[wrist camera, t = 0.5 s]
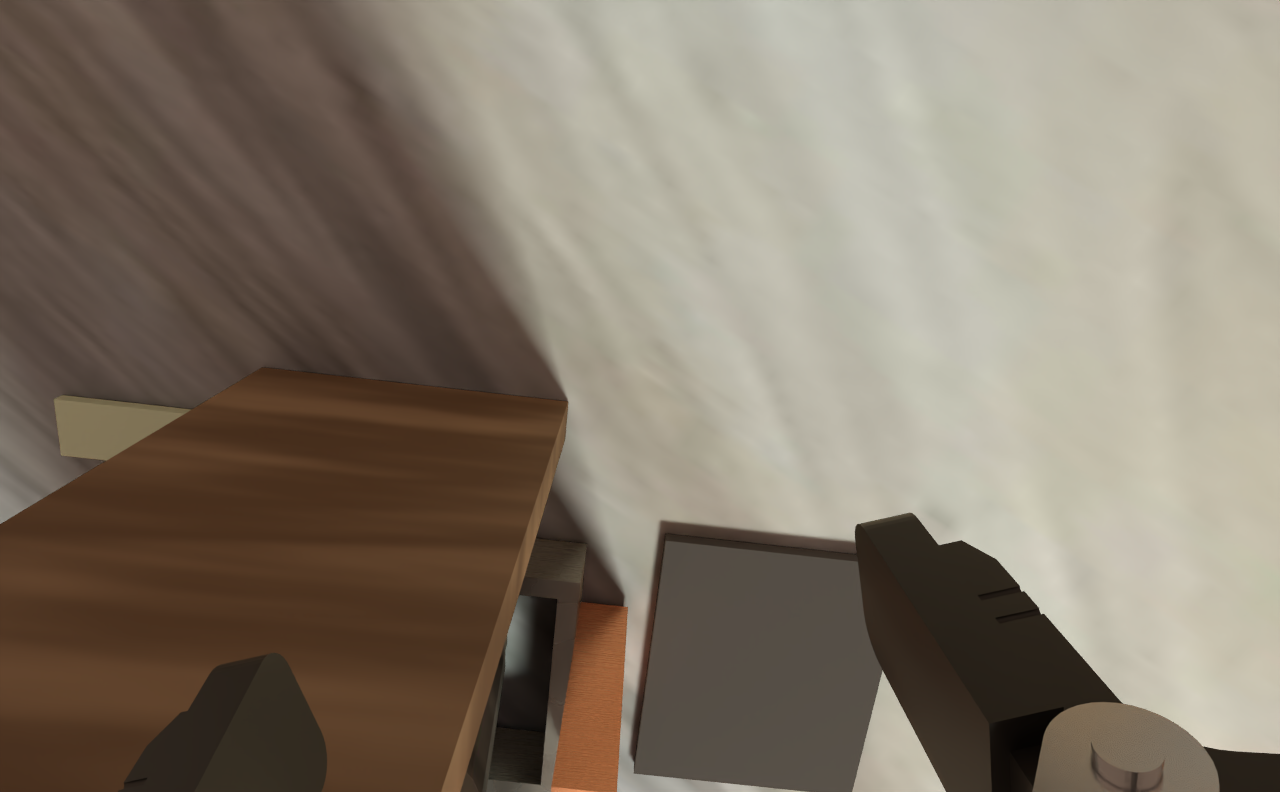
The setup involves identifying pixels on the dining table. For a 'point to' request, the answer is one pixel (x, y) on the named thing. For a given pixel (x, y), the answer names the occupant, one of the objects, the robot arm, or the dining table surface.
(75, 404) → the pair of cream slabs
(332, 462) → the tunnel
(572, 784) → the shallow grey tray
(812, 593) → the dark grey slab
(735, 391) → the dining table surface
